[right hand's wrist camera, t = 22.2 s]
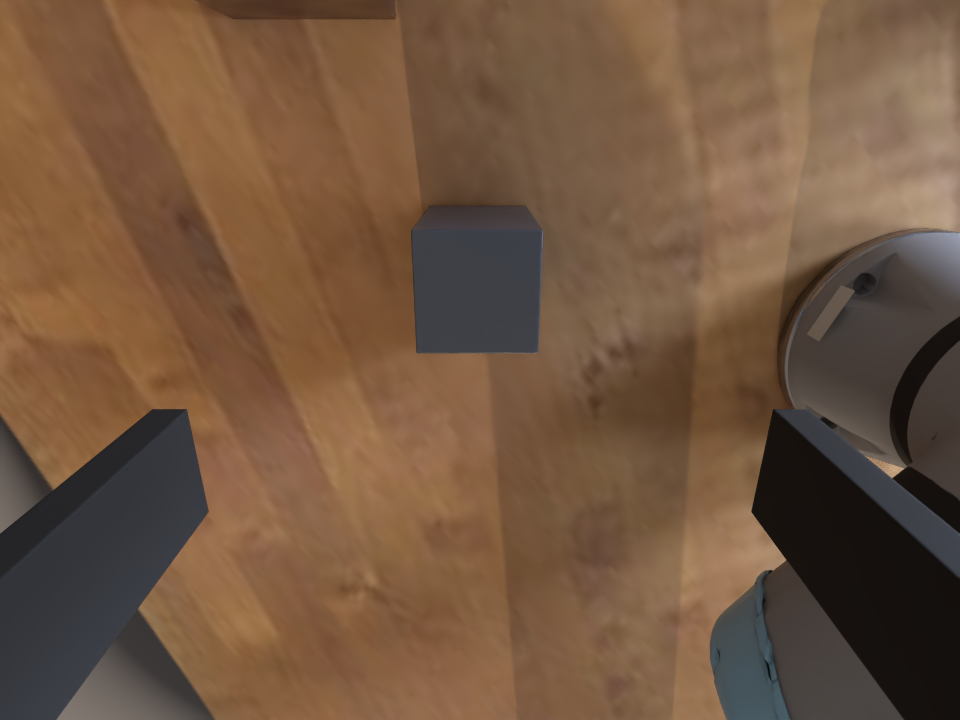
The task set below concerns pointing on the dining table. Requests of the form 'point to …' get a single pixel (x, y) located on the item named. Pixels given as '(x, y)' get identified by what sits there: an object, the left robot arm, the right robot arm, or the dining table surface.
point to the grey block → (477, 279)
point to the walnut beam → (304, 9)
